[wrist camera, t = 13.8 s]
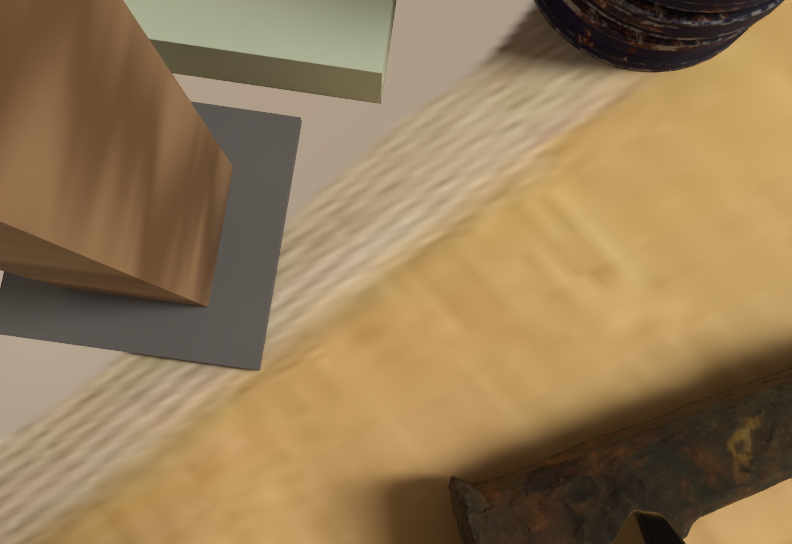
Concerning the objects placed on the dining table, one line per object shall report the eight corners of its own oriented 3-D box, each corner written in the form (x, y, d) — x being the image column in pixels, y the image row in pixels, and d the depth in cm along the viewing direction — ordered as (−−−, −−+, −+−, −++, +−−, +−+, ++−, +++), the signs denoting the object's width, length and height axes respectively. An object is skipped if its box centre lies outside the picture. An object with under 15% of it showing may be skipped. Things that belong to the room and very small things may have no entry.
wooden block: (208, 307, 23) (-45, 202, 9) (61, 287, 23) (-427, 150, 9) (233, 166, 23) (36, -133, 10) (91, 146, 23) (-314, -184, 10)
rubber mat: (259, 370, 23) (257, 370, 22) (-4, 333, 23) (-10, 332, 22) (301, 121, 24) (300, 117, 24) (53, 85, 24) (48, 80, 24)
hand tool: (475, 594, 22) (504, 651, 18) (437, 476, 23) (455, 502, 18) (972, 413, 24) (1116, 422, 19) (926, 306, 24) (1055, 291, 20)
